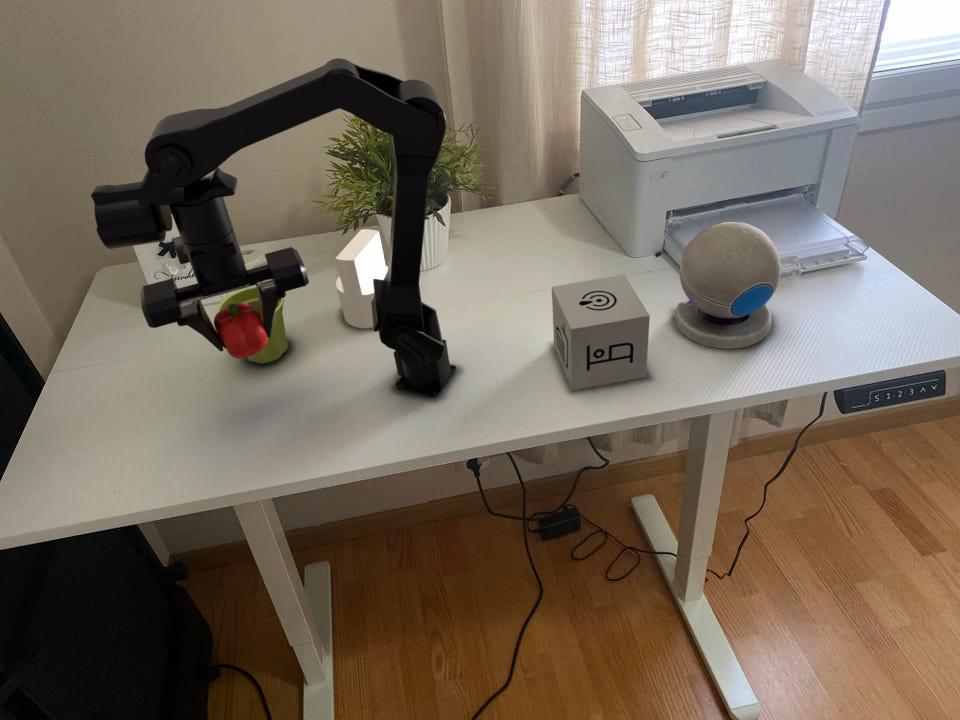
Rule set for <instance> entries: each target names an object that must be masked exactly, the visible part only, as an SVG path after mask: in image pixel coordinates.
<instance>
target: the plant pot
mask: <svg viewBox="0 0 960 720" xmlns="http://www.w3.org/2000/svg"><path fill="white" fill-rule="evenodd" d="M238 303H246V304H249V305H250V306H252V307H253V308H254V310H255V311H256V312H257V313H258V314H259V315H260V316H261V310H260V304H259V298H258V293H257V288H256V285H254V286H250V287H247V288H243V289H239V290H237V291H235V292H233V293H232V294H230V295H229V296H227V297H226V298H224V300H222V301H221V303H219V306H218V307H217V311H216V314H217V313H218V312H219V311H221V310H223V309H225V308H227V307H228V306H229V305H230V304H238ZM284 303H285V297H284V298H281V299H279V301H278V304H277V307H276V310H275V313H274V317H273V323H272V330H271V337H269V338H268V342H267V345H266V346H265V348H264V349H262V350H261V351H259V352H258V353H256V354H254V355H252V356H248V357H246V358H247V360H248V361H249V362H251V363H252V362H254V363H257V364H268V363H271V362H274V361H276V360H278V359H280V358H281V357H282V356H283V354H284V353H285V352H287V350H288V349H289V345H288V340H287V333H286V327H285V321H284V314H283V311H284ZM261 318H262V316H261Z"/></svg>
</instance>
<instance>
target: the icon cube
mask: <svg viewBox="0 0 960 720" xmlns="http://www.w3.org/2000/svg"><path fill="white" fill-rule="evenodd" d="M551 300H552V302H551V303H552V306H551V307H552V328H553V347H554V350H555V352H556V354H557V357H558V360H559V362H560V364H561V367H562V369H563V372H564V374H565V376H566V379H567V381H568V383H569V386H570V388H571V391H577V390H578V391H579V390H585V389H588V388H589V389H590V388H595V387H600V386H607V385H612V384H617V383H622V382H623V383H624V382H628V381H634V380H640V379H645V378H647V368H648V367H647V366H648V350H649V349H648V348H649V337H650V336H649V335H650V320H651V319H650V318H651V315H650V314H649V312H648V310H647V308H646V307H645V305H644V304H643V302H642V301H641V299H640V297H639V296H638V294H637V292H636V291H635V289H634V288H633V286H632V284H631V282H630V281H629V279H628V277H627V276H626V275H625V274H617V275H612V276H607V277H600V278H595V279H588V280H582V281H576V282H571V283H564V284H559V285H553V286H551Z"/></svg>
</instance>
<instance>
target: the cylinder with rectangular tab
mask: <svg viewBox="0 0 960 720" xmlns="http://www.w3.org/2000/svg"><path fill="white" fill-rule="evenodd" d="M335 262H336V267H337V270H338V274H339V275H338V277H337V279H336V281H335V286H336V291H337V296H338V299H339V303H340V307H341V310H342V315H343V317H344V321H345V323H347V324H348V325H349V326H352V327H353V328H357V329H374V327H373V316H372V306H371V302H372V300H373V298H374V285H373V279H380V280H384V278H385V276H386V274H387V271H388V265H386V260H385V256H384V250H383V244H382V241H381V235H380V231H379V230H375V229H360V230H359V231H358V232H357V233H356V234H355V236H354V237H353V238H352V239H351V240H350V241H349V243H347V244H346V245H345V247H344V248H343V249H342V250H341V251H340V252H339V254H338V255H337V256H336V257H335Z"/></svg>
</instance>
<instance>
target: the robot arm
mask: <svg viewBox="0 0 960 720" xmlns="http://www.w3.org/2000/svg"><path fill="white" fill-rule="evenodd" d="M336 110H342V111H345V112H347V113H350V114H352V115H354V116H355V117H356V118H359V119H360V120H361V121H363V122H365V123H367V124H368V125H370V126H372V127H373V128H375V129H377V130H379V131H381V132H383V133H385V134H388V135H390V137H391V145H392V152H393V159H394V176H393V191H392V194H393V195H392V207H391V221H390V236H389V237H390V238H389V249H388V250H389V251H388V252H389V253H388V265H387V266H388V271H387V274H386V276H385V278H384V280H380V279H373V285H374V298H373V300H372V302H371V306H372V316H373V327H374V328H373V332H375V333H376V332H378V337H379V340H380V342H381V344H383V345H384V346H385V347H387V348H389V349H391V350H393V351H394V352H393V357H394V363H395V368H396V371H397V375H398V377H399V379H397V381H396V382H395V384H394V387H395V388H396V389H398V390H402V391H406V392H410V393H414V394H418V395H421V396H426V397H430V398H437V397H439V396H440V394H441V393H442V391H443V390H444V388H445V387H446V386H447V384H448V383H449V382H450V380H451V379H452V378H453V376H454V375H455V374H456V372H457V366H456V365H454V364H451V363H450V357H449V350H448V344H447V340H446V339H443V336H442V331H441V325H440V322H439V316H438V313H437V309H435V308H433V307H432V306H430V305H428V304H427V303H425V302H423V301H422V295H421V288H420V279H421V277H420V276H421V267H422V257H423V247H424V236H425V227H426V214H427V204H428V193H429V185H430V184H429V182H430V177H431V174H432V172H433V170H434V167H435V166H436V163H437V162H438V159H439V157H440V153H441V150H442V146H443V143H444V139H445V135H446V134H447V133H446V132H447V126H448V125H447V117H446V114H445V112H444V109H443V105H442V103H441V101H440V98H439V95H438V93H437V91H436V90H435V89H434V88H433V87H432V85H430V84H429V83H428V82H426V81H424V80H420V79H417V78H416V79H407V80H402V79H401V78H398V77H396V76H393V75H391V74H389V73H386V72H382V71H378V70H374V69H370V68H367V67H363V66H360V65H358V64H356V63H353V62H351V61H349V60H347V59H345V58H340V57H337V58H333V59H330V60H328V61H327V62H326V63H325V64H324V65H322V66H319V67H317V68H315V69H312V70H310V71H307V72H305V73H302V74H301V75H298V76H296V77H293V78H291V79H289V80H286V81H284V82H281V83H279V84H277V85H275V86H271V87H269V88H266V89H265V90H263V91H259V92H257V93H255V94H253V95H251V96H248V97H246V98H243V99H241V100H238V101H237V102H234V103H231V104H229V105H226V106H221V107H216V108H196V109H192V110H188V111H187V110H186V111H183V112H178V113H174V114H169V115H167V116H165V117H163V118H162V119H160V121H159V122H158V123H157V124H156V126H155V128H154V130H153V132H152V133H151V136H150V137H149V140H148V142H147V144H146V146H145V150H144V162H145V164H146V167H147V171H146V173H145V175H144V176H143V179H142V181H136V182H130V183H129V182H128V183H122V184H102V185H96V186H95V188H94V189H93V191H92V193H91V194H90V196H91V199H92V201H93V204H94V218H95V223H96V233H97V235H98V237H99V239H100V241H101V243H102V245H103V246H105V247H106V248H107V249H108V250H115V249H122V248H128V247H134V246H142V245H147V244H148V245H149V244H154V243H160V242H161V243H162V242H164V241H165V240H166V238H167V237H166V235H167V232H171V231H172V230H173V221H174V224H175V227H176V228H177V232H178V235H179V236H176V237H172V238H171V241H172V244H173V247H174V251H175V253H176V257H177V259H178V262H179V264H180V265H184V264H188V263H190V267H191V269H192V272H193V274H194V277H195V280H196V282H197V283H194V284H190V285H186V286H182V287H179V288H178V286H177V284H176V281H175V279H174V278H168V279H164V280H161V281H157V282H154V283H149V284H145V285H142V288H141V290H140V292H139V293H140V294H139V295H140V304H141V311H142V314H143V317H144V319H145V321H146V324H147V325H148V328H152V329H157V328H160V327H163V326H167V325H171V324H174V323H176V324H177V326H178V327H185V326H187V327H189V328H191V329H192V330H193V331H195V332H197V333H199V335H201V336H202V337H204V338H205V340H207V341H208V342H209V343H211V345H212V346H214V347H215V348H216V349H217V350H218V351H219V352H221V353H222V352H224V350H225V349H224V347H223V346H222V344H221V341H220V338H219V336H218V334H217V331H216V329H215V326H214V323H213V322H212V320H211V319H210V317H209V315H208V313H207V311H206V309H205V307H204V305H203V303H202V301H203V300H207V299H210V298H214V297H217V296H221V295H224V294H229V293H231V292H237V291H240V290H243V289H247V288H250V287H254V286H256V288H257V293H258V298H259V304H260V310H261V316H262V321H263V324H264V328H265V331H266V334H267V338H269V337H271V330H272V323H273V317H274V313H275V310H276V307H277V304H278V301H279V299H281V298H284V299H285V298H286V297H287V292H289V291H293V290H296V289H299V288H300V289H301V288H303V287H306V286H307V285H309V284H310V280H309V277H308V273H307V270H306V266H305V264H304V261H303V260H302V259H303V258H302V257H301V255H300V253H299V251H298V250H297V249H296V248H294V247H292V246H290V247H285V248H282V249H278V250H275V251H271V252H270V251H269V252H267V253H264V258H265V261H266V262H262V263H259V264H256V265H254V267H252V268H249V269H247V267H246V263H245V259H244V255H243V253H242V250H241V247H240V244H239V241H238V239H237V236H236V232H235V229H234V227H233V223H232V221H231V220H232V219H231V217H230V214H229V212H228V208H227V205H226V202H225V199H224V198H225V197H233V196H234V195H235V194H236V191H237V186H238V177H237V176H234V175H232V174H230V173H227V172H225V171H223V170H222V169H221V168H220V166H221V165H223V164H224V163H225V162H226V161H227V160H229V159H230V158H231V157H232V156H233V155H235V154H236V153H238V152H239V151H241V150H242V149H244V148H246V147H249V146H252V145H254V144H256V143H259V142H261V141H263V140H266V139H269V138H271V137H274V136H276V135H278V134H281V133H283V132H286V131H288V130H290V129H293V128H295V127H298V126H300V125H303V124H305V123H307V122H310V121H313V120H314V119H316V118H319V117H322V116H324V115H327V114H328V113H331V112H334V111H336ZM211 173H212V174H211ZM210 174H211V175H210ZM208 175H209V176H208Z"/></svg>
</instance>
